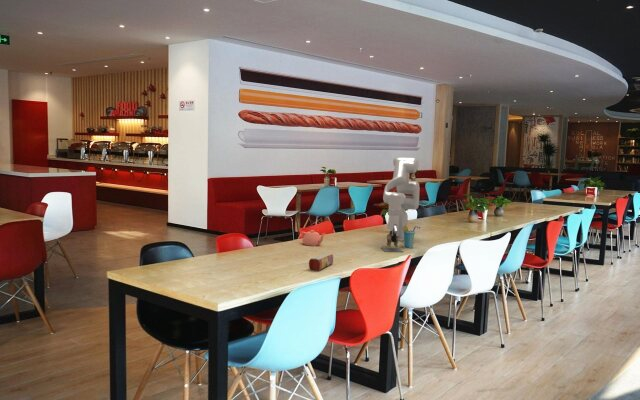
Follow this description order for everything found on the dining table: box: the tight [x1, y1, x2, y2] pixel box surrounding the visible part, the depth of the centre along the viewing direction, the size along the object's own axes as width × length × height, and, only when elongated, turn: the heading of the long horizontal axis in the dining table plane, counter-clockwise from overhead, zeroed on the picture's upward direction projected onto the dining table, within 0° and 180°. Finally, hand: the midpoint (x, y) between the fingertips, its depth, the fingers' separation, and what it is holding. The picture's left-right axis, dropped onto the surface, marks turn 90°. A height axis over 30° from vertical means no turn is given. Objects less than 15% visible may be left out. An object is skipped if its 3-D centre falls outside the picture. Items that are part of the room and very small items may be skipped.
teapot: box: [300, 229, 326, 247], centre depth 365 cm, size 12×18×10 cm
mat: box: [380, 246, 404, 253], centre depth 360 cm, size 12×12×1 cm
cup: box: [403, 225, 421, 249], centre depth 371 cm, size 14×8×15 cm, turn 50°
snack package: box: [308, 252, 334, 272], centre depth 301 cm, size 21×7×7 cm, turn 158°
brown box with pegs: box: [386, 233, 399, 248], centre depth 359 cm, size 6×6×7 cm
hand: (392, 240), depth 359 cm, fingers closed on brown box with pegs, 6 cm apart
